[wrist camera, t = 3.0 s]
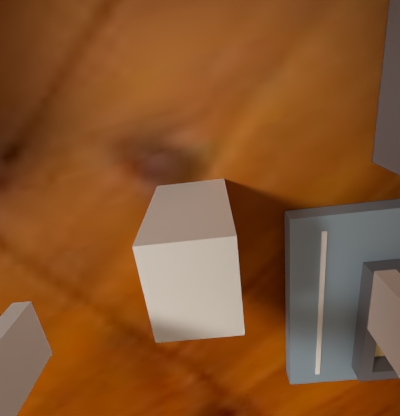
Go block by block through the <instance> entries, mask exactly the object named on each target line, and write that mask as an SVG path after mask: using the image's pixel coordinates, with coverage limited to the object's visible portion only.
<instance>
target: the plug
mask: <svg viewBox="0 0 400 416" xmlns="http://www.w3.org/2000/svg"><path fill="white" fill-rule="evenodd" d="M132 248H133V252H134V256H135V260H136V264H137V268H138V272H139V277H140V281H141V285H142V289H143V293H144V297H145V301H146V305H147V310H148V314H149V318H150V322H151V326H152V330H153V334H154V338H155V342H156V343H158V342H170V341H182V340H193V339H205V338H216V337H228V336H240V335H245V330H244V318H243V306H242V294H241V281H240V269H239V257H238V245H237V235H236V230H235V226H234V221H233V217H232V212H231V208H230V203H229V199H228V194H227V190H226V185H225V181H224V179H216V180H207V181H199V182H190V183H181V184H172V185H164V186H157V188H156V190H155V193H154V195H153V197H152V200H151V202H150V205H149V207H148V210H147V212H146V214H145V217H144V219H143V222H142V224H141V227H140V229H139V231H138V234H137V236H136V239H135V241H134V244H133V246H132Z"/></svg>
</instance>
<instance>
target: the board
mask: <svg viewBox="0 0 400 416" xmlns="http://www.w3.org/2000/svg"><path fill="white" fill-rule="evenodd" d="M394 269H396V270H397V271H398V272H399V273H400V199H392V200H383V201H374V202H364V203H355V204H346V205H336V206H327V207H318V208H308V209H299V210H290V211H285V306H286V372H287V375H288V378H289V382H290V384H302V383H315V382H328V381H341V380H354V379H358V380H359V381H371V380H384V379H397V378H399V376H398V375H397V373H396V372H395V370H394V369H393V367H392V366H391V364H390V363H389V361H388V360H387V358H386V357H385V355H384V353H383V352H382V350H381V349H380V347H379V346H378V344H377V343H376V341H375V340H374V338H373V337H372V335H371V334H370V332H369V331H368V329H367V327H368V319H369V311H370V302H371V294H372V285H373V277H374V271H382V270H394Z"/></svg>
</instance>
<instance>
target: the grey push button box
mask: <svg viewBox="0 0 400 416" xmlns="http://www.w3.org/2000/svg"><path fill="white" fill-rule="evenodd" d="M372 162H373V163H375V164H377V165H379V166H381V167H383V168H385V169H387V170H389V171H391V172H393V173H395V174H397V175H399V176H400V0H390V1H389V10H388V19H387V29H386V38H385V47H384V56H383V65H382V75H381V84H380V93H379V102H378V112H377V121H376V130H375V139H374V149H373V158H372Z"/></svg>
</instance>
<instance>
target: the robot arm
mask: <svg viewBox="0 0 400 416" xmlns="http://www.w3.org/2000/svg"><path fill="white" fill-rule="evenodd" d="M367 329H368V331H369V332H370V334H371V335H372V337H373V338H374V340H375V341H376V343H377V344H378V346H379V347H380V349H381V350H382V352H383V353H384V355H385V357H386V358H387V360H388V361H389V363H390V364H391V366H392V367H393V369H394V370H395V372H396V373H397V375H398V376H399V378H400V273H399V272H398V271H397V270H396V269H394V270H382V271H374V277H373V285H372V294H371V302H370V311H369V319H368V327H367ZM51 354H52V351H51V348H50V346H49V343H48V341H47V339H46V336H45V334H44V331H43V329H42V327H41V324H40V322H39V319H38V317H37V315H36V312H35V310H34V307H33V305H32V303H31V301H29V302H18V303H12V304H11V305H10V306H9V307H8V309H7V310H6V311H5V312H4V313H3V314H2V315H1V317H0V416H17V414H18V412H19V411H20V409H21V407H22V405H23V404H24V402H25V400H26V398H27V397H28V395H29V393H30V391H31V390H32V388H33V386H34V384H35V383H36V381H37V379H38V377H39V376H40V374H41V372H42V370H43V368H44V367H45V365H46V363H47V361H48V360H49V358H50V356H51Z"/></svg>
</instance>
